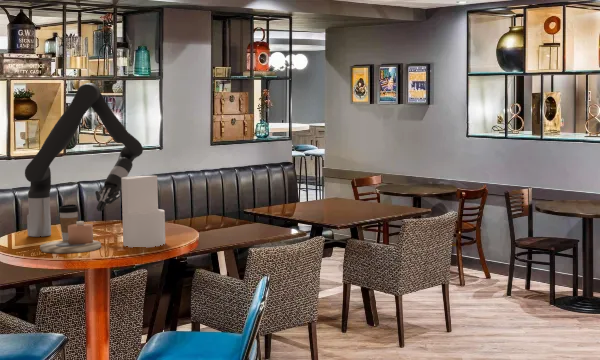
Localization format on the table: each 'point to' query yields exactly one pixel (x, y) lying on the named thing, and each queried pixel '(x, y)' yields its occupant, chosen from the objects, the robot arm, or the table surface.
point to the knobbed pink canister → (80, 233)
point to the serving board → (69, 247)
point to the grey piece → (142, 212)
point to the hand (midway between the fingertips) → (98, 210)
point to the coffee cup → (67, 218)
